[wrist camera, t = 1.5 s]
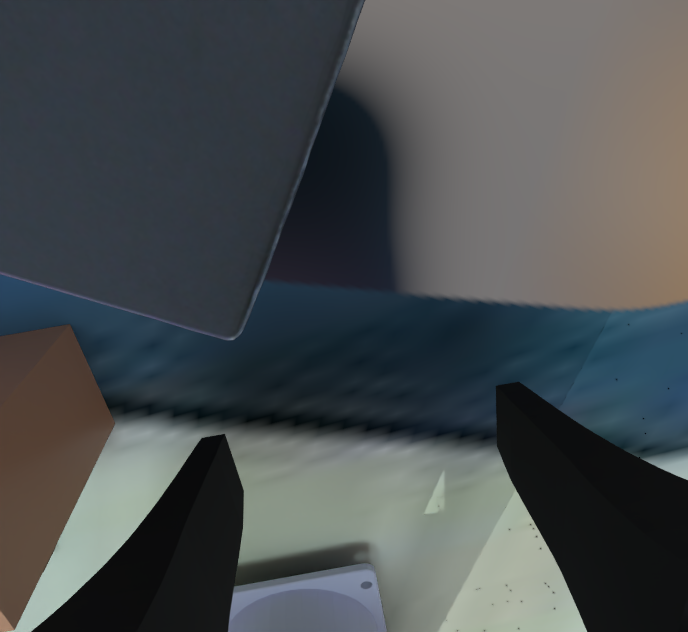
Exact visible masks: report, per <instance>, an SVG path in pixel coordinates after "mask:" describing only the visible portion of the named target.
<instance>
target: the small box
mask: <svg viewBox="0 0 688 632" xmlns="http://www.w3.org/2000/svg"><path fill="white" fill-rule="evenodd" d="M364 2H365V0H0V274H2V275H5V276H9V277H12V278H16V279H19V280H22V281H26V282H29V283H33V284H36V285H40V286H43V287H46V288H50V289H53V290H57V291H60V292H63V293H67V294H70V295H74V296H77V297H80V298H84V299H87V300H91V301H94V302H97V303H101V304H104V305H108V306H111V307H114V308H118V309H121V310H125V311H128V312H131V313H135V314H138V315H142V316H146V317H149V318H153V319H156V320H159V321H162V322H166V323H169V324H172V325H175V326H178V327H182V328H185V329H188V330H192V331H195V332H199V333H202V334H206V335H210V336H213V337H217V338H220V339H224V340H234V339H235V338H237V337H238V336H240V334H241V333H242V331H243V330H244V328H245V326H246V323H247V321H248V318H249V316H250V313H251V311H252V308H253V306H254V303H255V300H256V298H257V295H258V293H259V291H260V288H261V286H262V283H263V281H264V279H265V276H266V274H267V272H268V269H269V266H270V263H271V259H272V256H273V254H274V251H275V249H276V246H277V243H278V241H279V238H280V235H281V232H282V229H283V227H284V224H285V221H286V219H287V216H288V214H289V211H290V208H291V206H292V203H293V200H294V198H295V195H296V192H297V190H298V187H299V185H300V182H301V179H302V177H303V174H304V171H305V168H306V165H307V162H308V159H309V155H310V153H311V150H312V147H313V144H314V141H315V139H316V136H317V133H318V130H319V128H320V125H321V121H322V119H323V116H324V114H325V111H326V108H327V106H328V103H329V100H330V97H331V94H332V91H333V88H334V86H335V83H336V80H337V77H338V74H339V72H340V69H341V66H342V64H343V61H344V59H345V56H346V53H347V50H348V47H349V44H350V42H351V39H352V35H353V32H354V30H355V27H356V24H357V21H358V18H359V15H360V13H361V10H362V7H363V4H364Z"/></svg>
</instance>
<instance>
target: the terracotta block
mask: <svg viewBox="0 0 688 632" xmlns="http://www.w3.org/2000/svg"><path fill="white" fill-rule="evenodd" d="M114 425H115V422H114V420H113V418H112V416H111V413H110V411H109V409H108V407H107V405H106V402H105V400H104V398H103V396H102V394H101V391H100V389H99V387H98V385H97V383H96V381H95V378H94V376H93V374H92V372H91V370H90V367H89V365H88V363H87V361H86V359H85V356H84V354H83V352H82V350H81V348H80V345H79V343H78V341H77V339H76V337H75V334H74V332H73V330H72V328H71V326H70V324H68V325H62V326H56V327H51V328H45V329H39V330H34V331H28V332H23V333H17V334H11V335H6V336H0V632H6V631H11V630H15V628H16V626H17V624H18V622H19V620H20V618H21V616H22V614H23V612H24V610H25V608H26V605H27V603H28V601H29V599H30V597H31V595H32V593H33V591H34V589H35V587H36V585H37V583H38V581H39V579H40V577H41V575H42V573H43V571H44V569H45V566H46V564H47V562H48V560H49V558H50V556H51V554H52V552H53V550H54V548H55V546H56V544H57V542H58V540H59V538H60V536H61V534H62V532H63V530H64V527H65V525H66V523H67V521H68V519H69V517H70V515H71V513H72V511H73V509H74V507H75V505H76V503H77V501H78V499H79V497H80V495H81V493H82V491H83V488H84V486H85V484H86V482H87V480H88V478H89V476H90V474H91V472H92V470H93V468H94V466H95V464H96V462H97V460H98V458H99V456H100V454H101V452H102V449H103V447H104V445H105V443H106V441H107V439H108V437H109V435H110V433H111V431H112V429H113V427H114Z"/></svg>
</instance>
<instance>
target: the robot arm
mask: <svg viewBox="0 0 688 632" xmlns="http://www.w3.org/2000/svg"><path fill="white" fill-rule="evenodd" d="M496 415H497V447H498V449H499V452H500V454H501V457H502V460H503V462H504V465H505V467H506V469H507V472H508V474H509V477H510V479H511V481H512V483H513V485H514V487H515V488H516V490H517V492H518V494H519V496H520V497H521V499H522V501H523V503H524V505H525V507H526V508H527V510H528V512H529V514H530V515H531V517H532V519H533V521H534V523H535V524H536V526H537V528H538V530H539V531H540V533H541V535H542V537H543V539H544V540H545V542H546V544H547V546H548V547H549V549H550V551H551V553H552V555H553V556H554V558H555V560H556V562H557V564H558V566H559V568H560V570H561V572H562V574H563V577H564V579H565V581H566V584H567V586H568V588H569V590H570V593H571V595H572V597H573V599H574V602H575V604H576V606H577V608H578V611H579V613H580V616H581V618H582V620H583V623H584V625H585V627H586V630H587V632H688V480H686V479H683V478H681V477H678V476H676V475H674V474H671V473H669V472H667V471H665V470H663V469H660V468H658V467H656V466H654V465H652V464H650V463H648V462H646V461H644V460H642V459H640V458H638V457H636V456H634V455H632V454H630V453H628V452H626V451H624V450H623V449H621V448H619V447H617V446H615V445H614V444H612V443H610V442H609V441H607V440H605V439H603V438H602V437H600V436H598V435H597V434H595V433H593V432H592V431H590V430H589V429H587V428H585V427H584V426H582V425H581V424H579V423H577V422H576V421H574V420H573V419H571V418H570V417H568V416H567V415H565V414H564V413H562V412H561V411H560V410H558V409H557V408H555V407H554V406H552V405H551V404H550V403H548V402H547V401H545V400H544V399H542V398H541V397H540V396H538V395H537V394H535V393H534V392H533V391H531V390H530V389H528V388H527V387H526V386H524V385H523V384H521V383H520V382H515V383H510V384H504V385H498V386H496ZM243 505H244V490H243V487H242V484H241V481H240V478H239V475H238V472H237V469H236V466H235V463H234V460H233V457H232V454H231V451H230V448H229V445H228V442H227V439H226V436H225V434H222V435H216V436H210V437H205V438H202V439H201V440H200V441H199V443H198V444H197V446H196V447H195V448H194V450H193V451H192V453H191V454H190V456H189V457H188V459H187V460H186V462H185V463H184V465H183V466H182V468H181V469H180V471H179V472H178V474H177V475H176V477H175V478H174V480H173V481H172V482H171V484H170V485H169V487H168V488H167V489H166V491H165V492H164V494H163V495H162V496H161V498H160V499H159V501H158V502H157V503H156V505H155V506H154V507H153V509H152V510H151V511H150V512H149V514H148V515H147V516H146V518H145V519H144V520H143V521H142V523H141V524H140V525H139V526H138V528H137V529H136V530H135V532H134V533H133V534H132V535H131V536H130V537H129V539H128V540H127V541H126V542H125V543H124V544H123V545H122V547H121V548H120V549H119V550H118V551H117V552H116V553H115V554H114V555H113V556H112V557H111V558H110V560H109V561H108V562H107V563H106V564H105V565H104V566H103V567H102V568H101V569H100V570H99V571H98V572H97V573H96V574H95V575H94V576H93V577H92V578H91V579H90V580H89V581H88V582H86V583H85V584H84V585H83V586H82V587H81V588H80V589H79V590H78V591H77V592H76V593H75V594H74V595H73V596H72V597H71V598H70V599H69V600H68V601H67V602H65V603H64V604H63V605H62V606H61V607H60V608H59V609H57V610H56V611H55V612H54V613H53V614H52V615H51V616H49V617H48V618H47V619H46V620H45V621H44V622H42V623H41V624H40V625H39V626H37V627H36V628H35V629H34V630H33V631H31V632H387V629H386V624H385V619H384V614H383V608H382V603H381V598H380V593H379V587H378V582H377V577H376V572H375V568H374V566H372V565H371V564H368V563H362V564H356V565H351V566H345V567H340V568H334V569H329V570H323V571H317V572H312V573H306V574H301V575H295V576H290V577H284V578H279V579H273V580H268V581H262V582H257V583H251V584H246V585H240V586H234V584H235V577H236V571H237V564H238V558H239V551H240V544H241V537H242V530H243Z"/></svg>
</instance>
